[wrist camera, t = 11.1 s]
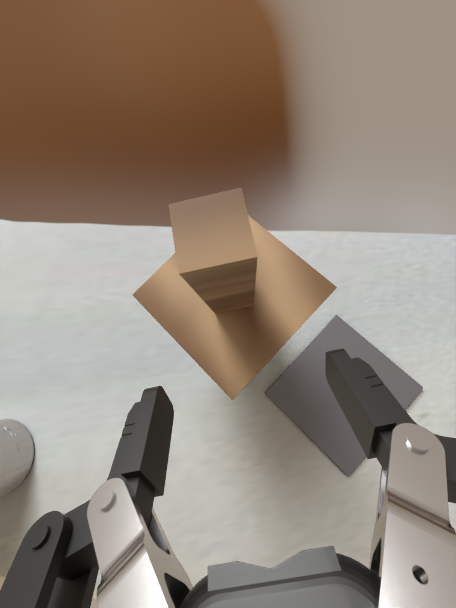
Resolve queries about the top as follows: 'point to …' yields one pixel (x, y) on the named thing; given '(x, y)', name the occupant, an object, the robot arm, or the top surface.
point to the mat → (320, 399)
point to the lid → (230, 289)
